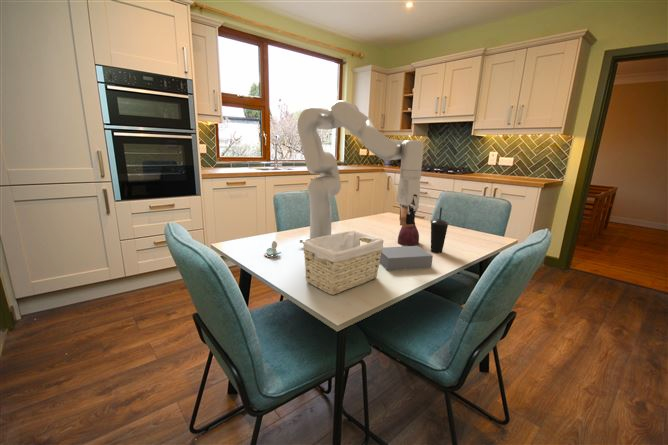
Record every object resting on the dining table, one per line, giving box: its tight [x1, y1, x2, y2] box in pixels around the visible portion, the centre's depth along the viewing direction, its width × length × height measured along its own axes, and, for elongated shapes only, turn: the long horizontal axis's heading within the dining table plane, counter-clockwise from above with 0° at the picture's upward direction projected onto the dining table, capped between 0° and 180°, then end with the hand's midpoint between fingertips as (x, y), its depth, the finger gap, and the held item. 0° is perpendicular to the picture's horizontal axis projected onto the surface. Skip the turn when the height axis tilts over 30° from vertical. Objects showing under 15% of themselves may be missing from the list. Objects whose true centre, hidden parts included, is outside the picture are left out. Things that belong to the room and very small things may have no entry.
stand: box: [379, 245, 433, 272], centre depth 122 cm, size 18×12×5 cm, turn 102°
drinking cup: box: [430, 207, 450, 254], centre depth 135 cm, size 8×8×20 cm
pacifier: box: [264, 240, 282, 258], centre depth 127 cm, size 7×6×6 cm
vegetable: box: [397, 221, 420, 246], centre depth 146 cm, size 10×10×15 cm
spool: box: [399, 206, 413, 227], centre depth 118 cm, size 5×5×7 cm
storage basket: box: [302, 230, 384, 296], centre depth 104 cm, size 24×16×15 cm
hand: (406, 221), depth 118 cm, fingers closed on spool, 5 cm apart
